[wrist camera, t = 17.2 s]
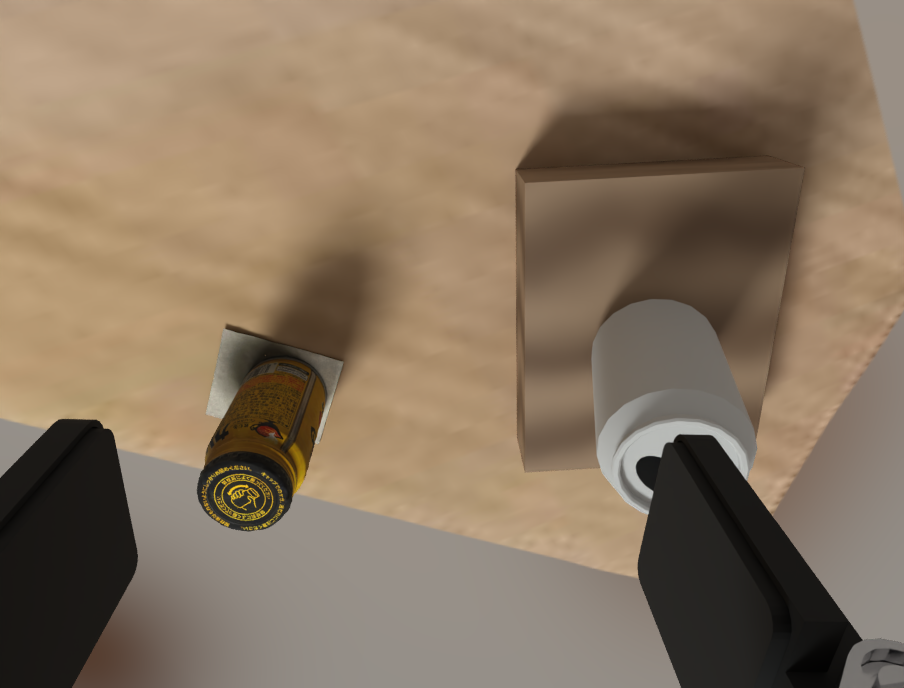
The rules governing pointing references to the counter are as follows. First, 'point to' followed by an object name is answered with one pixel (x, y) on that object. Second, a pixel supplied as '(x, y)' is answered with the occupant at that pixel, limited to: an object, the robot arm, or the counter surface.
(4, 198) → the counter surface
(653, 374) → the can
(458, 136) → the counter surface
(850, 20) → the counter surface
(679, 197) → the chopping block
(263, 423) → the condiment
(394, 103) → the counter surface
